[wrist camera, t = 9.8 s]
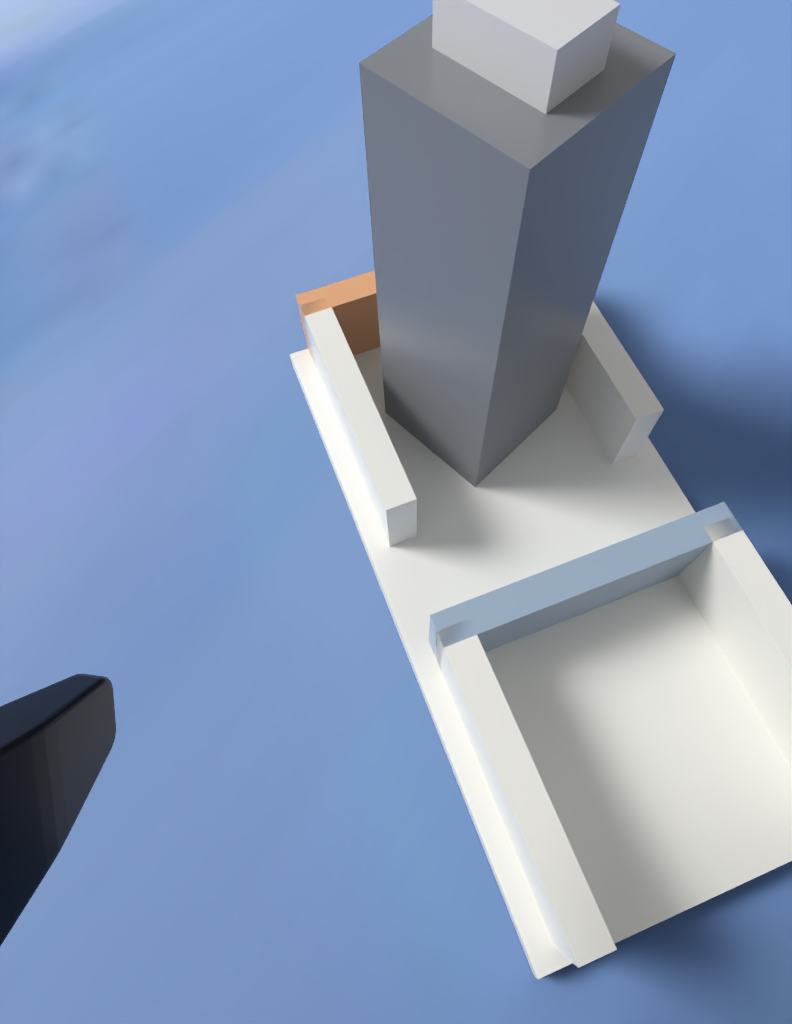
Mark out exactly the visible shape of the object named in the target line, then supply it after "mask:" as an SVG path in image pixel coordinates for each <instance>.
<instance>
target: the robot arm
mask: <svg viewBox="0 0 792 1024" xmlns="http://www.w3.org/2000/svg"><path fill="white" fill-rule="evenodd" d="M115 734H116V722H115V709H114V697H113V687H112V683H111V681H110V680H109V679H108V678H107V677H103V676H96V675H88V674H76V675H74V676H71V677H69V678H67V679H64V680H62V681H60V682H57V683H55V684H52V685H50V686H48V687H45V688H43V689H41V690H38V691H36V692H34V693H31V694H29V695H27V696H24V697H22V698H19V699H17V700H15V701H12V702H10V703H8V704H5V705H3V706H1V707H0V946H1V944H2V943H3V941H4V940H5V938H6V936H7V935H8V933H9V932H10V930H11V929H12V927H13V925H14V924H15V922H16V921H17V919H18V917H19V916H20V914H21V913H22V911H23V910H24V908H25V906H26V905H27V903H28V902H29V900H30V898H31V897H32V895H33V894H34V892H35V891H36V889H37V887H38V886H39V884H40V883H41V881H42V879H43V878H44V876H45V875H46V873H47V871H48V870H49V868H50V867H51V865H52V863H53V862H54V860H55V858H56V857H57V855H58V853H59V851H60V850H61V848H62V846H63V844H64V842H65V840H66V838H67V836H68V835H69V833H70V831H71V829H72V827H73V825H74V823H75V821H76V819H77V817H78V815H79V813H80V810H81V808H82V806H83V804H84V802H85V800H86V798H87V796H88V794H89V792H90V790H91V788H92V786H93V784H94V782H95V780H96V778H97V776H98V774H99V772H100V770H101V768H102V766H103V764H104V762H105V760H106V758H107V756H108V754H109V752H110V750H111V748H112V746H113V743H114V739H115Z"/></svg>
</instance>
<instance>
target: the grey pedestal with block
mask: <svg viewBox="0 0 792 1024" xmlns="http://www.w3.org/2000/svg"><path fill="white" fill-rule="evenodd" d="M619 7H620V4H619V3H617V2H615V1H613V0H433V15H431V16H430V17H428V18H427V19H425V20H424V21H422V22H421V23H419V24H418V25H416V26H414V27H413V28H411V29H410V30H408V31H407V32H405V33H404V34H402V35H401V36H399V37H398V38H396V39H395V40H393V41H392V42H390V43H389V44H387V45H386V46H384V47H383V48H381V49H380V50H378V51H377V52H375V53H374V54H372V55H370V56H369V57H367V58H366V59H364V60H363V61H361V62H360V63H359V67H360V80H361V94H362V107H363V120H364V134H365V147H366V160H367V173H368V187H369V200H370V213H371V227H372V240H373V253H374V267H375V280H376V293H377V307H378V320H379V333H380V347H381V360H382V373H383V386H384V400H385V412H386V413H387V414H388V415H389V416H390V417H392V418H393V419H394V420H395V421H396V422H397V423H399V424H400V425H401V426H402V427H403V428H405V429H406V430H407V431H408V432H409V433H411V434H412V435H413V436H414V437H415V438H417V439H418V440H419V441H420V442H421V443H423V444H424V445H425V446H426V447H427V448H429V449H430V450H431V451H432V452H433V453H435V454H436V455H437V456H438V457H439V458H441V459H442V460H443V461H444V462H445V463H447V464H448V465H449V466H450V467H451V468H453V469H454V470H455V471H456V472H457V473H458V474H460V475H461V476H462V477H463V478H464V479H466V480H467V481H468V482H469V483H470V484H472V485H473V486H474V487H476V486H477V485H478V484H479V483H480V482H481V481H482V480H483V479H484V478H485V477H486V476H487V475H489V474H490V473H491V472H492V471H493V470H494V469H495V468H496V467H497V466H498V465H499V464H500V463H501V462H502V461H503V460H504V459H505V458H506V457H507V456H508V455H509V454H510V453H512V452H513V451H514V450H515V449H516V448H517V447H518V446H519V445H520V444H521V443H522V442H523V441H524V440H525V439H526V438H527V437H528V436H529V435H530V434H531V433H532V432H533V431H535V430H536V429H537V428H538V427H539V426H540V425H541V424H542V423H543V422H544V421H545V420H546V419H547V418H548V417H549V416H550V415H551V414H552V413H553V412H554V411H555V410H556V409H557V407H558V404H559V401H560V398H561V395H562V392H563V389H564V386H565V383H566V380H567V377H568V374H569V371H570V368H571V365H572V362H573V359H574V356H575V353H576V350H577V347H578V344H579V341H580V338H581V335H582V332H583V329H584V326H585V323H586V320H587V317H588V314H589V311H590V308H591V305H592V302H593V299H594V296H595V293H596V290H597V287H598V284H599V281H600V278H601V276H602V273H603V270H604V267H605V264H606V261H607V258H608V255H609V252H610V249H611V246H612V243H613V240H614V237H615V234H616V231H617V228H618V225H619V222H620V219H621V216H622V213H623V210H624V207H625V204H626V201H627V198H628V195H629V192H630V189H631V186H632V183H633V180H634V177H635V174H636V171H637V168H638V165H639V162H640V159H641V156H642V153H643V150H644V147H645V144H646V141H647V138H648V135H649V132H650V130H651V127H652V124H653V121H654V118H655V115H656V112H657V109H658V106H659V103H660V100H661V97H662V94H663V91H664V88H665V85H666V82H667V79H668V76H669V73H670V70H671V67H672V64H673V61H674V58H675V55H676V53H674V52H672V51H670V50H668V49H666V48H664V47H662V46H660V45H658V44H656V43H654V42H652V41H650V40H648V39H646V38H645V37H643V36H641V35H639V34H637V33H635V32H633V31H631V30H629V29H627V28H625V27H623V26H621V25H619V24H617V23H616V20H617V16H618V12H619Z"/></svg>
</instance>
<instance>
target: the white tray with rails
mask: <svg viewBox="0 0 792 1024" xmlns="http://www.w3.org/2000/svg"><path fill="white" fill-rule="evenodd" d="M296 298H297V302H298V307H299V311H300V316H301V320H302V324H303V329H304V333H305V338H306V342H307V346H308V349H305V350H302V351H299V352H296V353H293V354H290V357H291V361H292V365H293V368H294V370H295V373H296V375H297V378H298V380H299V383H300V385H301V388H302V391H303V393H304V396H305V398H306V401H307V403H308V406H309V408H310V411H311V413H312V416H313V418H314V421H315V423H316V426H317V428H318V431H319V434H320V436H321V439H322V441H323V444H324V446H325V449H326V451H327V454H328V456H329V459H330V461H331V464H332V466H333V469H334V471H335V474H336V477H337V479H338V482H339V484H340V487H341V489H342V492H343V494H344V497H345V499H346V502H347V504H348V507H349V509H350V512H351V515H352V517H353V520H354V522H355V525H356V527H357V530H358V532H359V535H360V537H361V540H362V542H363V545H364V547H365V550H366V552H367V555H368V558H369V560H370V563H371V565H372V568H373V570H374V573H375V575H376V578H377V580H378V583H379V585H380V588H381V590H382V593H383V595H384V598H385V601H386V603H387V606H388V608H389V611H390V613H391V616H392V618H393V621H394V623H395V626H396V628H397V631H398V633H399V636H400V638H401V641H402V644H403V646H404V649H405V651H406V654H407V656H408V659H409V661H410V664H411V666H412V669H413V671H414V674H415V676H416V679H417V681H418V684H419V687H420V689H421V692H422V694H423V697H424V699H425V702H426V704H427V707H428V709H429V712H430V714H431V717H432V719H433V722H434V724H435V727H436V730H437V732H438V735H439V737H440V740H441V742H442V745H443V747H444V750H445V752H446V755H447V757H448V760H449V762H450V765H451V767H452V770H453V773H454V775H455V778H456V780H457V783H458V785H459V788H460V790H461V793H462V795H463V798H464V800H465V803H466V805H467V808H468V810H469V813H470V816H471V818H472V821H473V823H474V826H475V828H476V831H477V833H478V836H479V838H480V841H481V843H482V846H483V848H484V851H485V853H486V856H487V859H488V861H489V864H490V866H491V869H492V871H493V874H494V876H495V879H496V881H497V884H498V886H499V889H500V891H501V894H502V896H503V899H504V902H505V904H506V907H507V909H508V912H509V914H510V917H511V919H512V922H513V924H514V927H515V929H516V932H517V934H518V937H519V939H520V942H521V945H522V947H523V950H524V952H525V955H526V957H527V960H528V962H529V965H530V967H531V970H532V972H533V974H534V976H535V977H536V978H537V979H540V978H542V977H544V976H546V975H548V974H551V973H553V972H555V971H557V970H559V969H561V968H563V967H566V966H568V965H570V964H572V963H573V964H574V965H576V966H577V967H578V968H579V967H581V966H583V965H585V964H588V963H590V962H592V961H594V960H596V959H598V958H600V957H603V956H605V955H607V954H609V953H611V952H613V951H615V950H617V948H616V946H615V943H617V942H619V941H621V940H623V939H626V938H628V937H630V936H632V935H634V934H636V933H638V932H641V931H643V930H645V929H647V928H649V927H651V926H653V925H655V924H658V923H660V922H662V921H664V920H666V919H668V918H670V917H673V916H675V915H677V914H679V913H681V912H683V911H685V910H688V909H690V908H692V907H694V906H696V905H698V904H700V903H703V902H705V901H707V900H709V899H711V898H713V897H715V896H718V895H720V894H722V893H724V892H726V891H728V890H730V889H733V888H735V887H737V886H739V885H741V884H743V883H745V882H748V881H750V880H752V879H754V878H756V877H758V876H760V875H762V874H765V873H767V872H769V871H771V870H773V869H775V868H777V867H780V866H782V865H784V864H786V863H788V862H790V861H792V605H791V603H790V602H789V600H788V599H787V597H786V596H785V594H784V592H783V591H782V589H781V588H780V586H779V585H778V583H777V582H776V580H775V579H774V577H773V576H772V574H771V573H770V571H769V569H768V568H767V566H766V565H765V563H764V562H763V560H762V559H761V557H760V556H759V554H758V553H757V551H756V550H755V548H754V547H753V545H752V543H751V542H750V540H749V539H748V537H747V536H746V534H745V533H744V531H743V530H742V528H741V527H740V525H739V524H738V522H737V520H736V519H735V517H734V516H733V514H732V513H731V511H730V510H729V508H728V507H727V505H726V504H725V502H722V503H719V504H717V505H714V506H711V507H709V508H706V509H704V510H701V511H698V512H695V511H694V509H693V508H692V506H691V504H690V503H689V501H688V500H687V498H686V497H685V495H684V493H683V492H682V490H681V489H680V487H679V485H678V484H677V482H676V481H675V479H674V477H673V476H672V474H671V473H670V471H669V469H668V468H667V466H666V465H665V463H664V462H663V460H662V458H661V457H660V455H659V454H658V452H657V450H656V449H655V447H654V446H653V444H652V442H651V441H650V439H649V438H648V436H649V434H650V433H651V431H652V429H653V427H654V426H655V424H656V422H657V421H658V419H659V417H660V416H661V414H662V412H663V411H664V409H663V407H662V406H661V404H660V402H659V401H658V399H657V398H656V396H655V395H654V393H653V392H652V390H651V389H650V387H649V386H648V384H647V383H646V381H645V379H644V378H643V376H642V375H641V373H640V372H639V370H638V369H637V367H636V366H635V364H634V363H633V361H632V360H631V358H630V357H629V355H628V353H627V352H626V350H625V349H624V347H623V346H622V344H621V343H620V341H619V340H618V338H617V337H616V335H615V334H614V332H613V330H612V329H611V327H610V326H609V324H608V323H607V321H606V320H605V318H604V317H603V315H602V314H601V312H600V311H599V309H598V307H597V306H596V304H595V303H594V301H593V302H592V305H591V308H590V311H589V314H588V317H587V320H586V323H585V326H584V329H583V332H582V335H581V338H580V341H579V344H578V347H577V350H576V353H575V356H574V359H573V362H572V365H571V368H570V371H569V374H568V377H567V380H566V383H565V386H564V389H563V392H562V395H561V398H560V401H559V404H558V407H557V409H556V410H555V411H554V412H553V413H552V414H551V415H550V416H549V417H548V418H547V419H546V420H545V421H544V422H543V423H542V424H541V425H540V426H539V427H538V428H537V429H536V430H535V431H533V432H532V433H531V434H530V435H529V436H528V437H527V438H526V439H525V440H524V441H523V442H522V443H521V444H520V445H519V446H518V447H517V448H516V449H515V450H514V451H513V452H512V453H510V454H509V455H508V456H507V457H506V458H505V459H504V460H503V461H502V462H501V463H500V464H499V465H498V466H497V467H496V468H495V469H494V470H493V471H492V472H491V473H490V474H489V475H487V476H486V477H485V478H484V479H483V480H482V481H481V482H480V483H479V484H478V485H477V486H476V487H474V486H473V485H472V484H470V483H469V482H468V481H467V480H466V479H464V478H463V477H462V476H461V475H460V474H458V473H457V472H456V471H455V470H454V469H453V468H451V467H450V466H449V465H448V464H447V463H445V462H444V461H443V460H442V459H441V458H439V457H438V456H437V455H436V454H435V453H433V452H432V451H431V450H430V449H429V448H427V447H426V446H425V445H424V444H423V443H421V442H420V441H419V440H418V439H417V438H415V437H414V436H413V435H412V434H411V433H409V432H408V431H407V430H406V429H405V428H403V427H402V426H401V425H400V424H399V423H397V422H396V421H395V420H394V419H393V418H392V417H390V416H389V415H388V414H387V413H386V412H385V400H384V386H383V373H382V360H381V347H380V333H379V320H378V307H377V293H376V280H375V270H374V271H371V272H368V273H365V274H362V275H358V276H355V277H352V278H349V279H346V280H343V281H339V282H336V283H333V284H330V285H327V286H323V287H320V288H317V289H314V290H311V291H308V292H304V293H301V294H298V295H296Z"/></svg>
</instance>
